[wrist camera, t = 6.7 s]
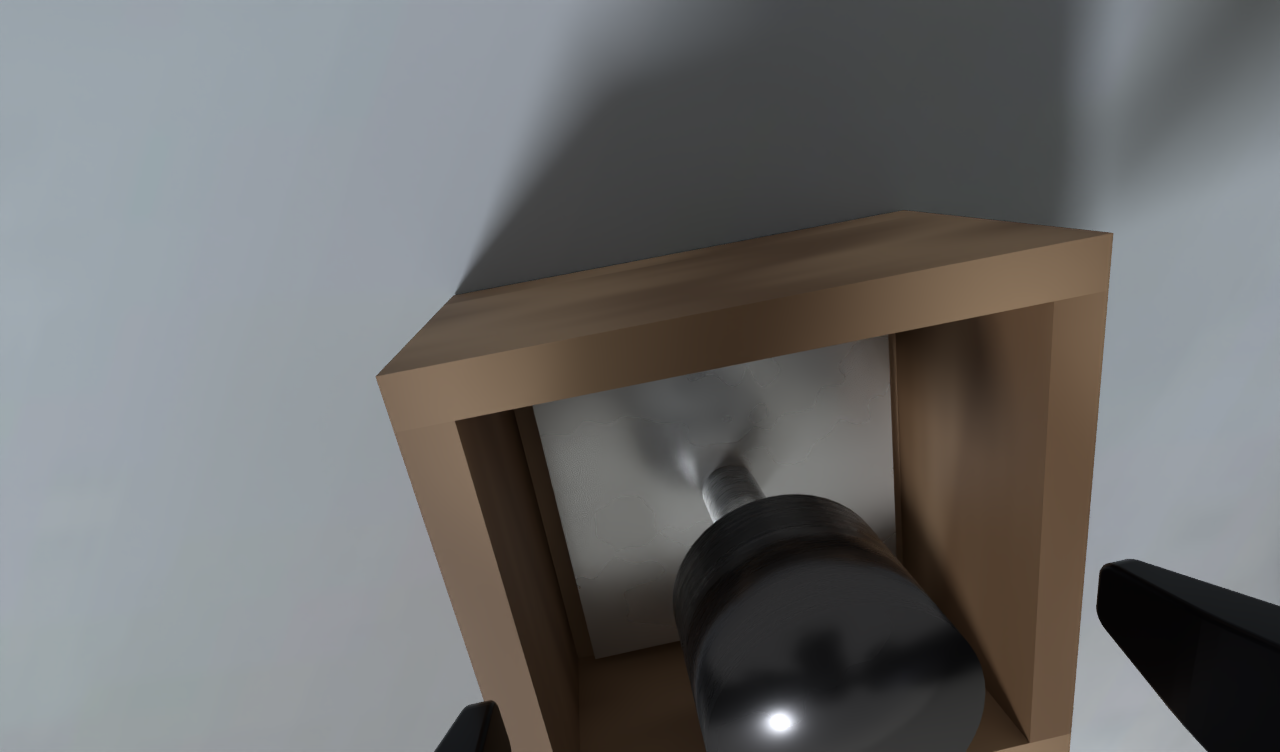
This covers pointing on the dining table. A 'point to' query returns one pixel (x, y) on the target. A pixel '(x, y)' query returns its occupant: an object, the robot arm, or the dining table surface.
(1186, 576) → the robot arm
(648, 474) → the plunger
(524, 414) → the wooden square tray
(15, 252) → the dining table surface
